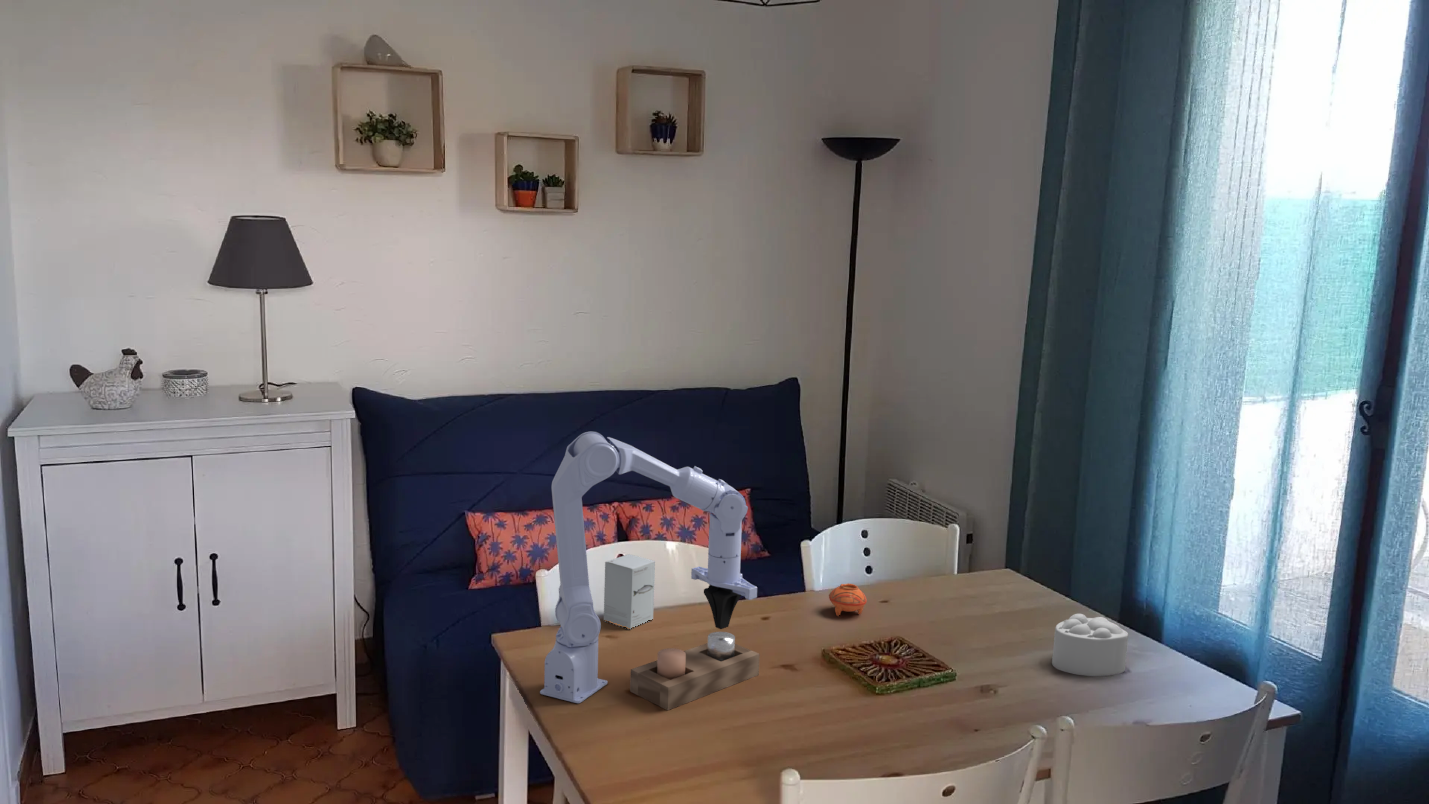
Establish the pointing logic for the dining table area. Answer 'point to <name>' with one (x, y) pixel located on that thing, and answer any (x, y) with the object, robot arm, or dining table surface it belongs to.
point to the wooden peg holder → (694, 677)
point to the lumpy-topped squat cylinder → (1089, 646)
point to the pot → (847, 598)
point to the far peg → (721, 645)
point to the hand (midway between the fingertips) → (721, 627)
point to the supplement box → (629, 590)
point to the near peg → (671, 663)
